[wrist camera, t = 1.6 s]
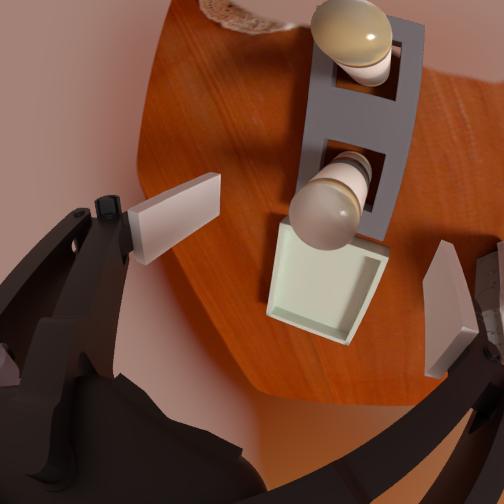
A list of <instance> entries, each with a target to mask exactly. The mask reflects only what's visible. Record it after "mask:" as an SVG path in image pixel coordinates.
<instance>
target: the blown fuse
mask: <svg viewBox="0 0 504 504" xmlns="http://www.w3.org/2000/svg"><path fill="white" fill-rule="evenodd" d="M371 177H372V167H371V164H370V162H369V160H368V159H367V158H366V157H365V156H364V155H363V154H361V153H360V152H357V151H353V150H348V151H344V152H342V153H340V154H339V155H338V156H336V157H335V158H334V159H333V160H332V161H331V162H330V163H329V164H328V165H327V166H325V167H324V168H323V169H322V170H321V171H320V172H319V173H318V174H317V175H316V176H315V177H314V178H312V179H311V180H310V181H309V182H308V183H307V184H306V185H305V186H304V187H302V188H301V189H300V190H299V191H298V192H297V193H296V194H295V196H294V197H293V199H292V201H291V203H290V207H289V219H290V223H291V226H292V228H293V230H294V232H295V233H296V235H297V236H298V237H299V238H300V239H301V240H302V241H303V242H304V243H306V244H307V245H309V246H311V247H313V248H315V249H318V250H324V251H331V250H337V249H340V248H342V247H344V246H345V245H347V244H348V243H349V242H350V241H351V240H352V239H353V238H354V236H355V234H356V232H357V229H358V226H359V222H360V218H361V215H362V211H363V207H364V204H365V200H366V197H367V193H368V189H369V185H370V181H371Z"/></svg>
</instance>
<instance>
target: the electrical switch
mask: <svg viewBox="0 0 504 504" xmlns="http://www.w3.org/2000/svg"><path fill="white" fill-rule="evenodd" d="M497 248H498V251H495V252H492V253H489V254H488V255H486V256H483V257H481V258H478V259H476V280H475V293H474V298H475V299H476V300H477V302H478V304H479V305H480V307H481V311H482V316H483V318H484V322H485V326H486V331H487V335H488V339H489V341H491V342H492V343H493V344H494V345H496V347H497V348H498V349H499V351H500V354H501V358H502V361H501V363H504V241H501V242H497Z"/></svg>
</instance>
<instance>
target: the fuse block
mask: <svg viewBox="0 0 504 504" xmlns="http://www.w3.org/2000/svg"><path fill="white" fill-rule="evenodd" d="M318 7H319V6H317V8H318ZM317 8H316V10H317ZM385 16H386V17H387V19H388V20H389V22H390V25H391V28H392V45H394V46H397V47H401V56H400V66H399V76H398V84H397V92H396V99H395V101H392V100H389V99H385V98H381V97H378V96H374V95H370V94H365V93H361V92H357V91H352V90H347V89H342V88H337V87H335V85H336V77H337V67H338V64H337V63H336V62H335V61H334V60H333V59H331V58H330V57H329V56H328V55H327V54H325V53H324V52H323V51H322V50H321V49H320V48H319V47H318V45H317V44H316V42H315V40H314V45H313V56H312V66H311V76H310V85H309V94H308V103H307V111H306V120H305V128H304V135H303V143H302V151H301V158H300V165H299V172H298V179H297V186H296V193H297V192H298V191H299V190H300V189H301V188H302V187H304V186H305V185H306V184H307V183H308V182H309V181H310V180H311V179H312V178H314V177H315V176H316V175H317V174H318V173H319V172H320V171H321V170H322V169H323V168H324V162H325V156H326V150H327V143H328V139H331V140H335V141H339V142H343V143H347V144H351V145H355V146H359V147H363V148H366V149H370V150H373V151H377V152H380V153H383V154H385V159H384V163H383V168H382V172H381V176H380V180H379V184H378V188H377V192H376V196H375V200H374V204H373V205H370V204H367V203H365V204H364V207H363V211H362V215H361V218H360V222H359V226H358V229H357V232H356V233H359V234H362V235H365V236H368V237H371V238H374V239H377V240H380V241H383V240H384V237H385V234H386V231H387V228H388V225H389V222H390V219H391V216H392V212H393V209H394V206H395V202H396V199H397V195H398V192H399V188H400V185H401V181H402V177H403V173H404V169H405V165H406V161H407V157H408V152H409V148H410V143H411V138H412V133H413V128H414V123H415V117H416V111H417V105H418V99H419V91H420V84H421V75H422V65H423V51H424V32H425V26H424V25H422V24H418V23H415V22H411V21H408V20H404V19H400V18H396V17H392V16H388V15H385ZM296 193H295V194H296Z"/></svg>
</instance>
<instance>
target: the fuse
mask: <svg viewBox="0 0 504 504" xmlns="http://www.w3.org/2000/svg"><path fill="white" fill-rule="evenodd" d="M311 32H312V36H313V38H314V40H315V42H316V44H317V45H318V47H319V48H320V49H321V50H322V51H323V52H324V53H325V54H327V55H328V56H329V57H330V58H331V59H333V60H334V61H335V62H336V63H337V64H338V65H339V66H340V67H341V68H342V69H343V70H345V71H346V72H347V73H348V74H349V75H350V76H351V77H352V78H353V79H354V80H355V81H356V82H357V83H359V84H361V85H363V86H367V87H376V86H379V85H381V84H383V83H384V82H385V81H386V80H387V79H388V77H389V74H390V63H391V48H392V47H391V46H392V28H391V25H390V22H389V20H388V19H387V17H386V16H385V14H384V13H383V12H382V11H381V10H380V9H379V8H378V7H376V6H375V5H374V4H372V3H370V2H368V1H366V0H328V1H326V2H324V3H323V4H322V5H320V6H319V7H318V8H317V10H316V11H315V13H314V15H313V17H312V20H311Z"/></svg>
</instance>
